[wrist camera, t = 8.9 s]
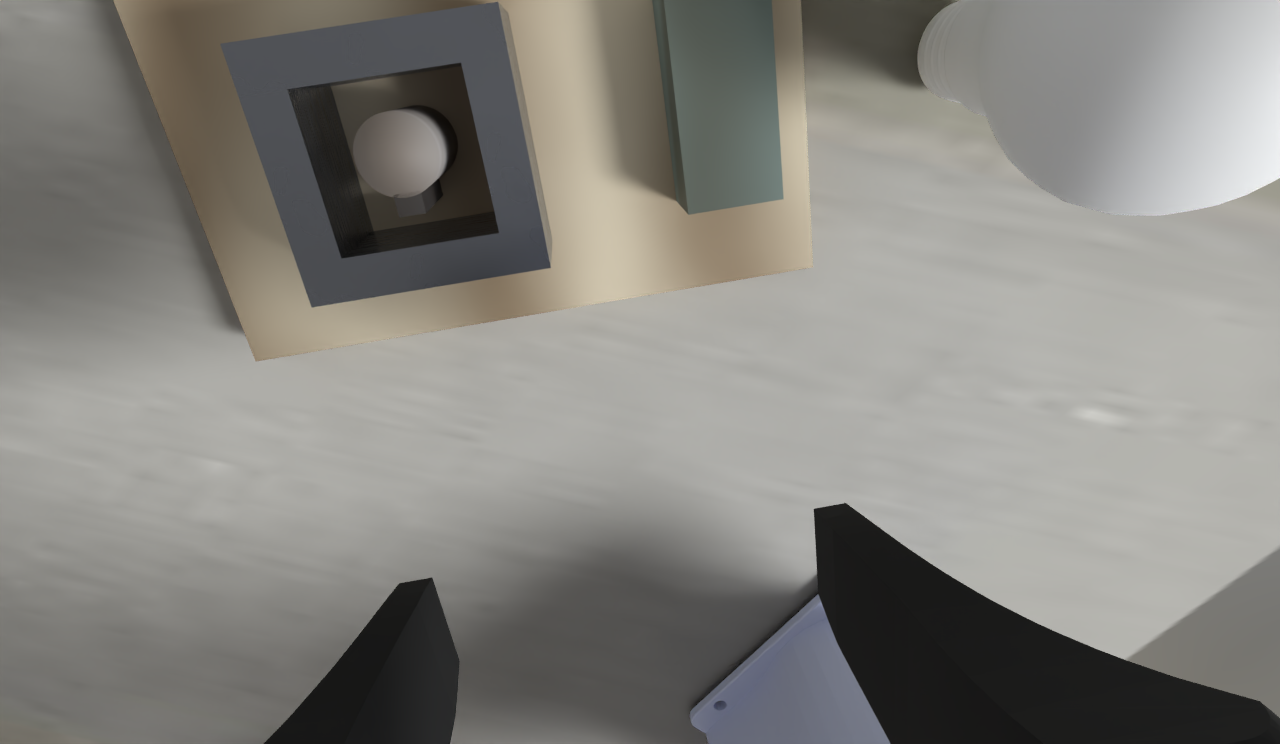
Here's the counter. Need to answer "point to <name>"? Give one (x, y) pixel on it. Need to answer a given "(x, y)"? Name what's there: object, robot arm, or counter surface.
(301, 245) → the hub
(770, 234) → the stand
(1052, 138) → the lightbulb
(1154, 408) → the counter surface
